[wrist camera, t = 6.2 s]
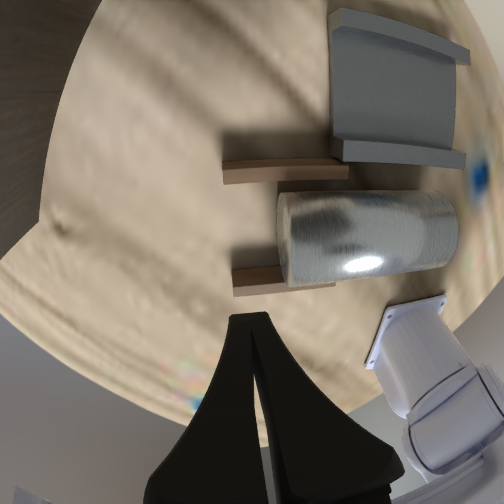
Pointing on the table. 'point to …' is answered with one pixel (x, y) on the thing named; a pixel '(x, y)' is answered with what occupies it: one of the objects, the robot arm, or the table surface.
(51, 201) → the table surface
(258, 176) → the brown piece
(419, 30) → the cradle
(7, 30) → the wood block
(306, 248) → the grey metal cylinder
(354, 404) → the table surface
